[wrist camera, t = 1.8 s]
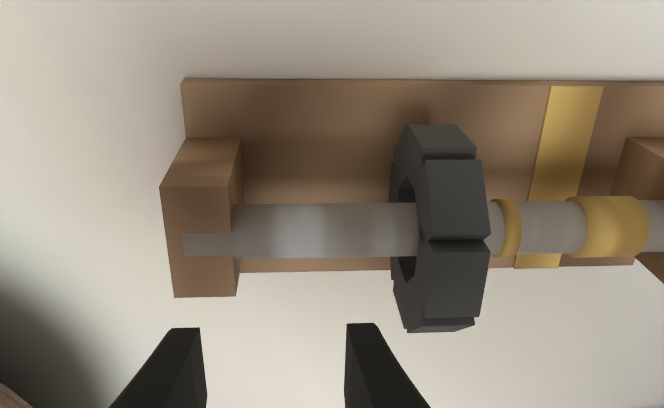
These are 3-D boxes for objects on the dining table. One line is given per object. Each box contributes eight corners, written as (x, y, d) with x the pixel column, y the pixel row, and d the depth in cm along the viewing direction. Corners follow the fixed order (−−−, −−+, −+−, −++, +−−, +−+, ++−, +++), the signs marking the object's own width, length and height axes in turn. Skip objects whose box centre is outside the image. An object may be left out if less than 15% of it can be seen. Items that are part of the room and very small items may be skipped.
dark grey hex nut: (439, 106, 19) (504, 177, 13) (421, 259, 22) (468, 373, 16) (395, 106, 19) (442, 178, 13) (384, 259, 22) (417, 375, 16)
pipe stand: (677, 81, 21) (796, 124, 16) (622, 255, 24) (706, 334, 19) (184, 78, 19) (147, 124, 14) (203, 263, 23) (179, 349, 18)
